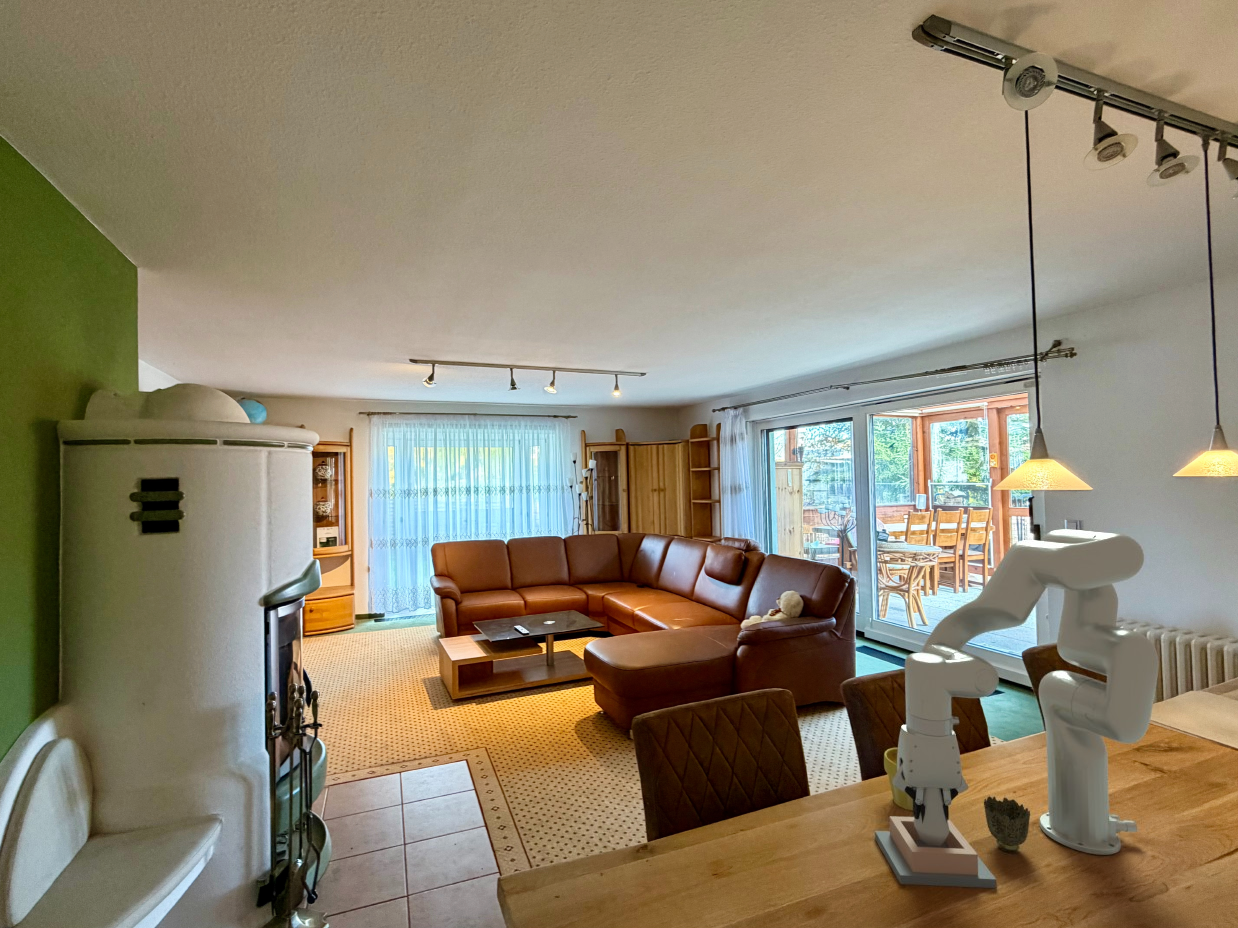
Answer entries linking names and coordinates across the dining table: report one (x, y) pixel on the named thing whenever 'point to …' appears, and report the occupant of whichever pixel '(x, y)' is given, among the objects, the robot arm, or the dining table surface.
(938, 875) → the socket base
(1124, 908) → the dining table surface
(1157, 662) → the robot arm
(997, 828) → the cup
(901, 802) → the plant pot
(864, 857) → the dining table surface
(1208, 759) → the dining table surface
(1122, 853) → the dining table surface
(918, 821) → the salt shaker
